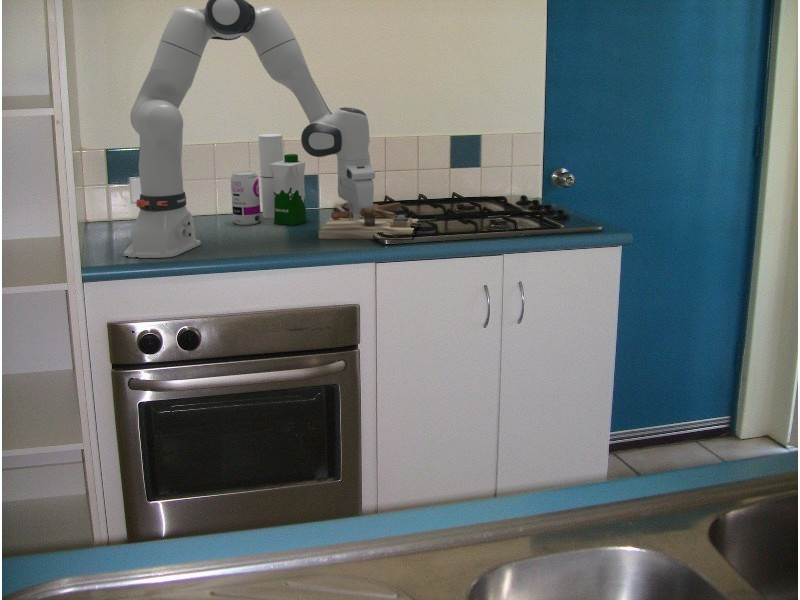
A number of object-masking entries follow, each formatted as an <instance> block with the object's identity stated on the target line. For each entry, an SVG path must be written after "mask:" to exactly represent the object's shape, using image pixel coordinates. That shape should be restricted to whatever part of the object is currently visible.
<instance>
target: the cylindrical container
mask: <svg viewBox="0 0 800 600" xmlns="http://www.w3.org/2000/svg"><path fill="white" fill-rule="evenodd" d="M283 142H284V141H283V134H281V133H263V134H259V135H258V148H259V149H258V150H259V165H260V183H261V187H260V188H261V200H262V201H261V203H262V216H263V218H264V219H270V220H271V219H273V220H274V208H275V206H274V187H273V176H272V172H271V168H270V164H273V163H275V162H280V161H284V146H283V145H284V144H283Z"/></svg>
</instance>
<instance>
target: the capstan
mask: <svg viewBox="0 0 800 600" xmlns="http://www.w3.org/2000/svg"><path fill="white" fill-rule="evenodd" d="M344 208H345V209H349V206H348V202H347V201H346V202H344ZM397 209H402V203H401V202H393V203H386V204H382V205H381V204H378V203H374V202H373V205H372V207H371V208H361V211H360V217H361V218H364V217H375V218H376V217H378V216H379V217H382V218H385V219H393V218H396V213H395V212H392V211H391V210H397ZM349 217H350V210H344V211H336V210H335V211H332V212H331V214H330V218H332V219H333V220H338V219H339V218H349ZM350 218H351V217H350Z"/></svg>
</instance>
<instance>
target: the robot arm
mask: <svg viewBox="0 0 800 600" xmlns="http://www.w3.org/2000/svg"><path fill="white" fill-rule="evenodd" d="M241 37H244V38H246V39H247V41H249V42H250V44H252V46H253V48H254V50H255V52H256V55H257V57H258V58H259V59H258V60H259V61H260V63H261V65H262V66H263V69H264V70H265V71H266V72H267V74H268V75H269V77H270V78H271V79H272V80H273V81H275V82H277V83H279V85H280V84H281V85H282V86H284V87H285V88H287V89H288V90H290V91H291V92H292V93H293V95H294V96H295V98H296V99H297V101H298V103H299V105H300V106H301V108H302V110H303V112H304V114H305V115H306V117H307V119H308V122H309V124H308V125H307V126H306V127H304V128H303V130H302V132H301V137H300V141H301V146H302V148H303V149H304V151H305V152H306V153H307V154H308V155H309V156H312V157H316V158H325V157H327V156H331V155H336V157H337V158H336V159H337V162H336V163H337V195H338V197H339V198H340V199H342V200H344V201H345V202H346V203H347V202H348V206H349V208H348V209H349V210H350V218H352V219H354V220H359V219H361V215H360V211H361V208H371V207H372V205H373V203H374V190H375V188H374V187H375V186H374V179H376V172H375V169H374V168H373V166H372V164H371V155H370V152H369V145H370V127H369V126H370V125H369V121H368V120H369V119H368V116H367V114H366V113H365V112H364V111H363V110H361V109H358V108H354V107H345V106H344V107H340V108H338V109H337V110H336V111H334V112H333V113H332V112H331V110H330V109H329V107H328V106H327V103H326V102H325V99H324V97H323V96H322V94H321V92H320V91H319V89H318V86H317V85H316V83H315V81H314V79H313V77H312V74H311V72H310V69H309V67H308V64H307V62H306V59H305V56H304V53H303V52H302V49H301V46H300V45H299V42H298V40H297V38H296V35H295V34H294V32H293V30H292V28H291V27H290V25H289V24H288V22H287V20H286V19H285V17H284V16H283V14H282V13H281V12H280V10H279V9H278V8H277V7H275V6H274V5H273V6H272V5H262V6H259V7H257V8H255V7H254V6H253V5H252V4H250V2H249V1H246V0H208V1H207V3H205V7H204V8H201V9H200V8H197V7H193V6H189V5H187V6H185V5H184V6H179V7H178V8H176V9H175V10H174V11H173V13H172V15H171V17H170V19H169V20H168V22H167V24H166V25H165V28H164V30H163V33H162V34H161V37H160V40H159V43H158V46H157V49H156V52H155V55H154V57H153V61H152V63H151V65H150V67H149V72H148V74H147V76H146V77H145V80H144V81H143V84H142V85H141V88H140V90H139V92H138V94H137V97H136V98H135V100H134V101H135V102H134V104H133V106H132V108H131V111H130V114H129V115H130V116H129V117H130V118H129V119H130V124H131V126H132V128H133V130H134V131H135V132H136V133H137V134H138V135H139V159H138V174H139V184H140V193H139V199H136V202H135V205H136V208H138V209H140V210H139V212H138V215H137V217H136V219H135V222H134V225H133V227H132V229H131V243H130V244H129V245H128V246H127V248H126V249H125V250H124V251H123V257H126V256H128V258H135V257H138V258H137V259H139V258H141V259H150V258H151V259H161V258H162V259H163V258H164V259H165V258H172V257H176V256H179V255H181V254H183V253H185V252H187V251H191V250H192V249H194V248H197V247H199V246H201V245H202V243H201V240H199V239H197V237H196V232H195V224H194V219H193V218H194V217H193V214H192V213H191V212H190V211H189V210H188V208H187V196H186V192H185V191H184V182H183V170H182V169H183V167H182V157H183V156H182V155H183V138H184V137H183V135H184V134H183V131H184V119H183V115H182V113H181V112H180V109H179V108H180V106H181V105H182V102H183V100H184V99H185V97H186V94H187V93H188V91H189V90H190V89H191V87H192V86H193V83H194V80H195V77H196V74H197V71H198V69H199V66H200V63H201V60H202V56H203V55H204V51H205V48H206V46H207V44H208V42H209V40H220V41H221V40H222V41H234V40H237V39H239V38H241ZM349 210H348V211H349Z"/></svg>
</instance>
